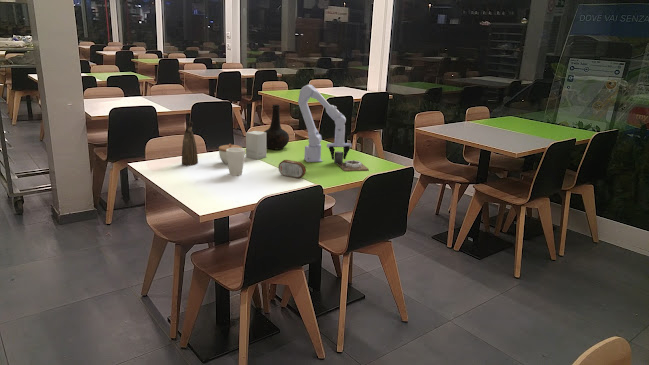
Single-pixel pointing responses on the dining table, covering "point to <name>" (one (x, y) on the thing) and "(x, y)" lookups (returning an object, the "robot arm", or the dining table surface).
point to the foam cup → (235, 160)
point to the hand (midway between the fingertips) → (338, 159)
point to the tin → (292, 169)
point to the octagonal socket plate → (352, 166)
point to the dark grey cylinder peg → (338, 157)
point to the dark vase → (276, 131)
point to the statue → (189, 147)
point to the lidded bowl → (223, 152)
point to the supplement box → (256, 144)
